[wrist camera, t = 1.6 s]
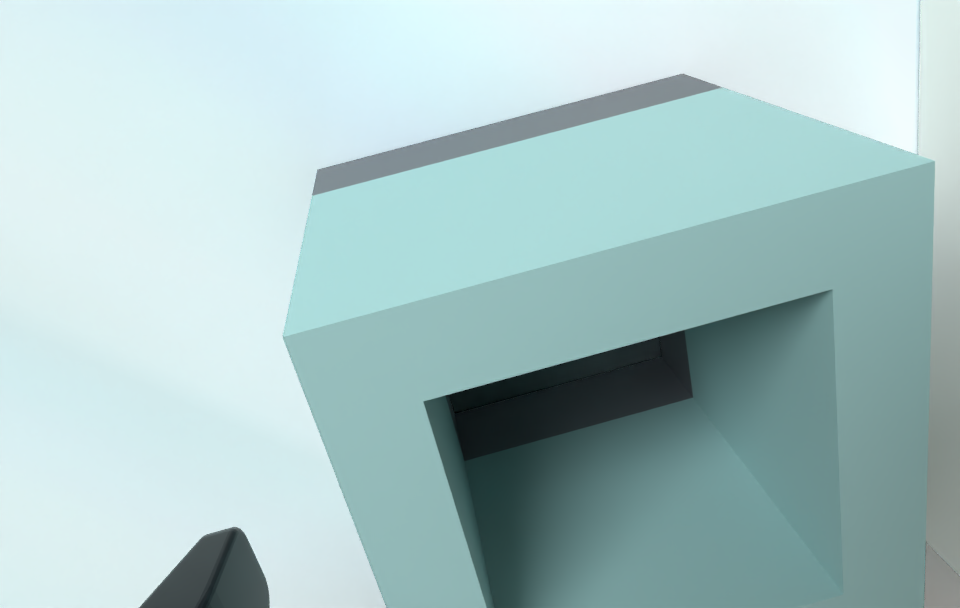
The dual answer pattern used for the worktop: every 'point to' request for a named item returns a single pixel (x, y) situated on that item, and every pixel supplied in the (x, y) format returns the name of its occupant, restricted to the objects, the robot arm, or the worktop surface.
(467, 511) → the sleeve
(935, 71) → the pin board
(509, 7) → the worktop surface
